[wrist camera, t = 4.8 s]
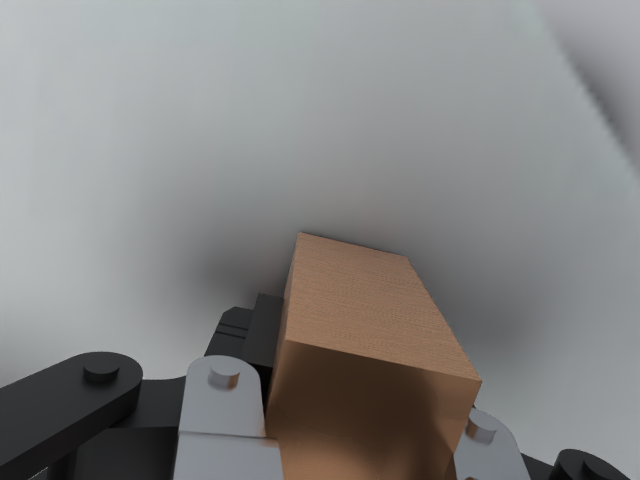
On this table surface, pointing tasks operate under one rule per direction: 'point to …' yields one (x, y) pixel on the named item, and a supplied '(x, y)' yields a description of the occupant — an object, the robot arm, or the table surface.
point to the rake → (364, 370)
